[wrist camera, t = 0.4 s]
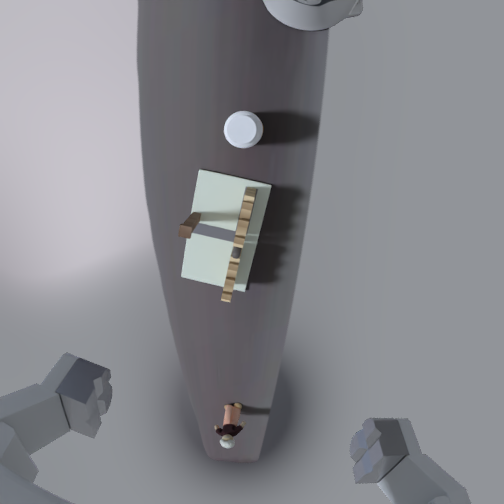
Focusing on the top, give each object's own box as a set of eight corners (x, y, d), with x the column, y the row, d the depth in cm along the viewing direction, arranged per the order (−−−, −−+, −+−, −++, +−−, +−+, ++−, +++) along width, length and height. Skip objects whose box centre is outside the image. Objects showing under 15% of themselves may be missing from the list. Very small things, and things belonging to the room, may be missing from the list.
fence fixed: (247, 186, 51) (243, 196, 44) (256, 188, 51) (254, 199, 44) (235, 240, 54) (230, 257, 48) (243, 242, 54) (239, 259, 48)
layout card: (200, 169, 51) (199, 169, 50) (271, 184, 51) (271, 185, 50) (181, 275, 58) (181, 277, 58) (244, 290, 59) (244, 291, 58)
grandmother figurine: (241, 398, 70) (236, 440, 59) (248, 407, 72) (245, 448, 60) (214, 406, 72) (207, 446, 60) (222, 414, 73) (216, 454, 62)
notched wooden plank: (234, 242, 54) (229, 258, 48) (243, 244, 54) (239, 261, 48) (225, 283, 57) (220, 302, 51) (233, 284, 57) (229, 304, 51)
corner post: (192, 210, 53) (180, 224, 45) (202, 212, 53) (191, 227, 45) (190, 220, 53) (178, 236, 46) (200, 222, 53) (189, 239, 46)
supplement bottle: (245, 152, 49) (240, 158, 40) (222, 128, 48) (212, 129, 39) (270, 130, 48) (271, 131, 39) (247, 106, 46) (242, 101, 37)
